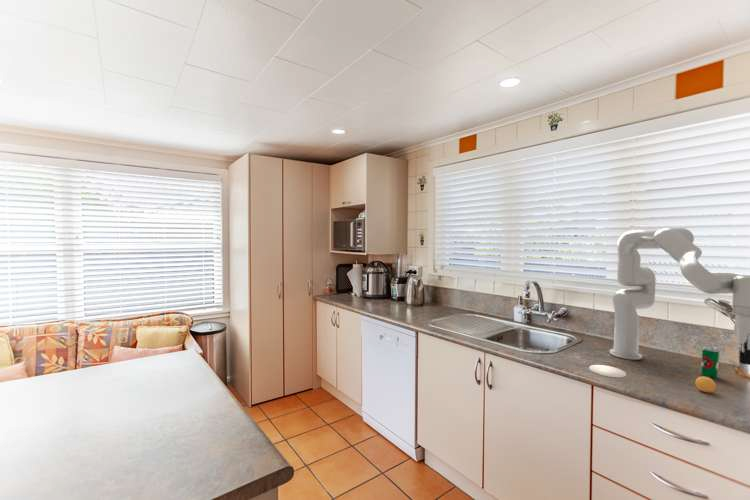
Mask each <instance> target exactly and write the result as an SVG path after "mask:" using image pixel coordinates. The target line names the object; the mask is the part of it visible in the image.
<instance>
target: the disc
mask: <svg viewBox="0 0 750 500" xmlns="http://www.w3.org/2000/svg"><path fill="white" fill-rule="evenodd" d="M588 369H589V370H590V371H591V372H593V373H595V374H597V375H600V376H602V377H603V376H604V377H609V378H615V379H617V378H618V379H619V378H620V379H621V378H625V377H626V376H627V373H626V372H625V371H624V370H622V369H620V368H618V367H614V366H610V365H605V364H593V365H590V366H589V368H588Z"/></svg>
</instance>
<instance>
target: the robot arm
mask: <svg viewBox="0 0 750 500" xmlns="http://www.w3.org/2000/svg"><path fill="white" fill-rule="evenodd" d="M694 241H695V236H694V234H693V232H692V231H690V230H689V229H687V228H682V227H664V228H660V229H636V230H635V229H634V230H629V231H626V232H623V233H622V234H621V236H620V237H619V238H618V240H617V248H616V249H617V256H618V257H617V259H618V260H617V282H618V284H620V285H621V286H622V287H630V288H627V289H626V288H625V289H624V288H623V289H619V290H618V291H616V292H614V294H613V296H612V302H613V310H614V326H613V329H614V330H613V331H614V332H613V348H611V349H609V354H610V355H612V356H614V357H617V358H621V359H625V360H631V361H633V360H634V361H635V360H637V361H638V360H642V359H643V355H642V354H641V353H639V346H640V345H639V341H640V317H639V314H638V312H637V310H644V309H649V308H651V307H652V306H653V305H654V303H655V299H656V298H655V297H656V279H657V278H656V274H655V272H654V271H653V270H652V269H651V268H650V267H648V266H644V265H641V255H640V253H639V251H638V250H642V249H645V250H646V249H647V250H649V249H650V250H651V249H652V250H654V249H662V250H663V251H664V252H665V253H666V254H668V255H669V256H670V257H671V258H672V259H673V260H674V261H676V262H677V263H678V264H679V269H680V272H681V274H682V275H683V277H684V279H686V280H687V281H688V282H689V283H690V284H691V285H692V286H693V287H695V288H696V290H699V291H700V292H702V293H705V294H709V295H715V294H716V295H717V294H718V295H719V294H723V295H724V294H732V312H731V313H732V315H734V316H735V318H734V327H733V340H734V341H735V342H736V343H737V344H738V345H739V349H740V350H739V356H738V357H739V360H738V361H739V363H740V364H742V365H750V275H748V274H745V275H744V274H743V275H742V274H737V273H731V272H710V270H708V269H706V268H705V267H704V266H703V265H702V264H701V263H700V262H699V261H698V260H699V259H700V257H701V256H702V254H703V251H702V249H701V248H700V247H699V246H697V245H696V244H695V243H694ZM631 287H634V288H631Z"/></svg>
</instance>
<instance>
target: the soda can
mask: <svg viewBox="0 0 750 500" xmlns="http://www.w3.org/2000/svg"><path fill="white" fill-rule="evenodd" d="M719 360H720V350H719V348H718V347H716V346H713V345H703V347H702V348H701V362H700V374H701V376H705V377H709V378H711V379H717V378H718V377H719V365H720V364H719V362H720V361H719Z"/></svg>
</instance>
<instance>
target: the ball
mask: <svg viewBox="0 0 750 500" xmlns="http://www.w3.org/2000/svg"><path fill="white" fill-rule="evenodd" d="M695 386H696V387H697V389H699V390H700V391H701V392H704V393H713V392H714V391H715V390H716V389H717V384H716V382H715V381H714V380H713V378H709V377H705V376H703V375H701V376H698V377H697V378H696V379H695Z"/></svg>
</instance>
